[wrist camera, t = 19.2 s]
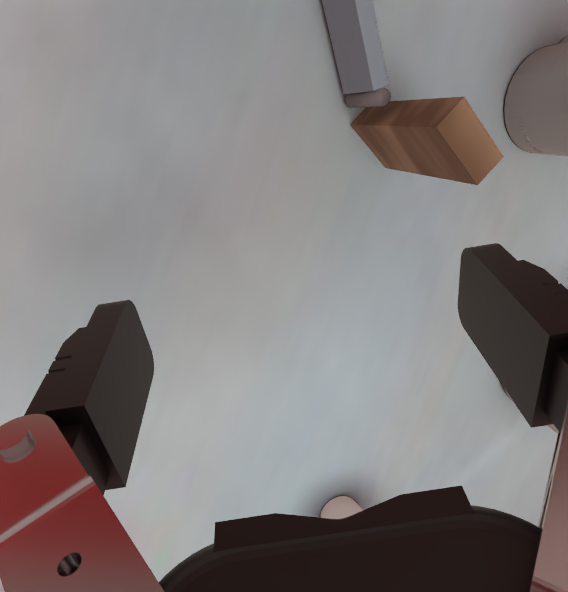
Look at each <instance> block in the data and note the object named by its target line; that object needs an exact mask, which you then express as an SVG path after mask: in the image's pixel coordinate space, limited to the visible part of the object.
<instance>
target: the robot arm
mask: <svg viewBox="0 0 568 592" xmlns="http://www.w3.org/2000/svg"><path fill="white" fill-rule="evenodd" d="M504 112H505V123H506V127H507V131H508V133H509V135H510V137H511V139H512V140H513V142H514V143H515V144H516V145H517V146H518V147H519V148H521V149H522V150H524V151H527V152H530V153H539V154H550V155H562V156H568V37H565V38H564V39H563V40H562V41H561V42H560V43H559V44H558V45H552V46H546V47H544V48H541V49H539V50H537V51H535V52H534V53H532V54H531V55H530V56H528V57H527V58H526V59H525V61H524V62H523V63H522V64H521V65H520V66H519V68H518V69H517V71H516V72H515V74H514V76H513V78H512V80H511V82H510V85H509V87H508V91H507V95H506V99H505V108H504ZM458 312H459V317H460V320H461V323H462V326H463V328H464V329H465V331H466V332H467V334H468V335H469V337H470V338H471V340H472V341H473V342H474V344H475V345H476V347H477V348H478V350H479V351H480V353H481V354H482V356H483V357H484V359H485V360H486V362H487V363H488V365H489V366H490V368H491V369H492V370H493V372H494V373H495V375H496V376H497V378H498V379H499V381H500V382H501V384H502V385H503V387H504V388H505V390H506V391H507V393H508V394H509V396H510V397H511V398H512V400H513V401H514V403H515V404H516V406H517V407H518V409H519V410H520V412H521V413H522V415H523V416H524V418H525V419H526V421H527V422H528V424H529V425H530V426H531V427H537V426H544V425H551V424H554V426H555V427H556V428H557V430H558V431H559V433H558V437H557V441H556V445H555V450H554V454H553V459H552V463H551V468H550V473H549V477H548V482H547V486H546V491H545V495H544V500H543V505H542V509H541V514H540V518H539V522H538V527H537V526H535V525H533V524H532V523H530V522H528V521H525V520H523V519H521V518H518V517H516V516H513V515H511V514H508V513H504V512H501V511H498V510H495V509H490V508H485V507H480V506H471V505H470V503H469V501H468V499H467V496H466V494H465V492H464V490H463V487H462V486H456V487H449V488H443V489H436V490H429V491H422V492H416V493H409V494H402V495H399V496H397V497H394V498H392V499H389V500H387V501H385V502H382V503H380V504H378V505H375V506H373V507H370V508H368V509H366V510H363V511H361V512H358V513H356V514H354V515H351V516H349V517H346V518H343V519H328V518H317V517H307V516H297V515H286V514H276V513H275V514H268V515H262V516H255V517H248V518H242V519H235V520H228V521H222V522H215V538H214V544H212V545H209V546H207V547H205V548H203V549H201V550H199V551H198V552H196V553H194V554H192V555H191V556H189V557H188V558H186V559H185V560H184V561H182V562H181V563H179V564H178V565H177V566H176V567H175V568H173V569H172V570H171V571H170V572H169V573H168V574H167V575H165V577H164V578H163V579H162V580H161V581H160V582H158V581H157V579H156V578H155V576H154V575H153V573H152V571H151V570H150V568H149V567H148V565H147V564H146V562H145V560H144V559H143V557H142V556H141V554H140V553H139V551H138V550H137V548H136V546H135V545H134V543H133V542H132V540H131V539H130V537H129V535H128V534H127V532H126V531H125V529H124V528H123V526H122V524H121V523H120V521H119V520H118V518H117V517H116V515H115V513H114V512H113V510H112V509H111V507H110V506H109V504H108V502H107V501H106V499H105V498H104V496H103V495H104V492H105V490H109V489H116V488H122V487H125V486H126V482H127V478H128V474H129V470H130V466H131V462H132V458H133V454H134V450H135V446H136V442H137V438H138V434H139V430H140V426H141V422H142V418H143V414H144V410H145V406H146V402H147V398H148V394H149V390H150V386H151V382H152V378H153V373H154V361H153V355H152V351H151V348H150V345H149V343H148V340H147V337H146V334H145V332H144V329H143V326H142V324H141V321H140V318H139V315H138V313H137V310H136V307H135V305H134V304H133V302H132V301H130V300H126V301H119V302H113V303H106V304H100V305H98V306H97V307H96V309H95V311H94V313H93V315H92V317H91V319H90V321H89V323H88V325H87V327H84V328H79V329H78V330H77V331H76V332H75V333H73V334H72V335H71V336H70V337H69V338H68V339H67V340H66V341H65V342H64V343H63V345H62V346H61V348H60V350H59V352H58V354H57V356H56V357H55V359H56V361H53V363H52V365H51V367H50V369H49V370H48V371H49V374H46V376H45V378H44V380H43V382H42V383H41V385H40V387H39V389H38V391H37V393H36V394H35V396H34V398H33V400H32V402H31V404H30V406H29V407H28V409H27V411H26V413H25V415H24V416H22V417H18V418H16V419H13V420H11V421H9V422H7V423H5V424H4V425H2V426H0V579H1V582H2V585H3V588H4V591H5V592H568V290H567V289H566V288H565V287H564V286H563V285H562V284H558V281H557V280H556V279H555V278H554V277H553V276H551V275H550V274H549V273H548V272H547V271H546V270H545V269H543V268H541V267H538V266H536V265H534V264H531V263H529V262H527V261H525V260H520V261H517V260H516V259H515V258H514V257H513V256H512V255H511V254H510V253H509V252H508V251H506V250H505V249H504V248H503V247H502V246H501V245H500V244H489V245H483V246H477V247H470V248H465V249H464V250H463V252H462V255H461V265H460V280H459V294H458Z"/></svg>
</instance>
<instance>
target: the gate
mask: <svg viewBox="0 0 568 592" xmlns="http://www.w3.org/2000/svg"><path fill="white" fill-rule="evenodd" d="M322 3H323V7H324V12H325V16H326V20H327V25H328V29H329V33H330V37H331V42H332V46H333V50H334V55H335V59H336V63H337V67H338V72H339V76H340V80H341V84H342V89H343V93H344V94H347V95H346V98H345V101H346V104H347V106H348V107H350V108H357V107H377V106H385V105H387V104H388V103H389V101H390V98H391V95H390V92H389V90H388V89H386V88H383V87H386V86H388V85H389V84H388V79H387V74H386V69H385V64H384V59H383V53H382V48H381V43H380V38H379V33H378V28H377V22H376V17H375V12H374V7H373V2H372V0H322Z"/></svg>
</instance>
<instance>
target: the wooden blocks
mask: <svg viewBox="0 0 568 592" xmlns="http://www.w3.org/2000/svg"><path fill="white" fill-rule="evenodd" d="M351 126H352V128H353V129H354V130H355V131H356V132H357V134H358V135H359V136H360V137H361V139H362V140H363V141H364V142H365V143H366V145H367V146H368V147H369V148H370V149H371V151H372V152H373V153H374V154H375V156H376V157H377V158H378V159H379V160H380V162H381V163H382V164H383V165H384V166H385V168H389V169H395V170H400V171H405V172H411V173H416V174H421V175H427V176H432V177H438V178H443V179H448V180H454V181H459V182H464V183H470V184H475V185H478V184H479V183H480V182H481V181H482V180H483V179H484V178H485V176H486V175H487V174H488V173H489V172H490V171H491V170H492V169H493V168H494V167H495V166H496V164H497V163H498V162H499V161H500V160H501V159H502V158H503V155H502V154H501V152H500V151H499V149H498V148H497V146H496V145H495V143H494V142H493V140H492V139H491V137H490V136H489V134H488V132H487V131H486V129H485V128H484V126H483V125H482V123H481V122H480V120H479V119H478V117H477V116H476V114H475V113H474V111H473V110H472V108H471V106H470V105H469V103H468V102H467V100H466V99H465V97H452V98H437V99H422V100H406V101H391V102H389V103H388V104H387V105H385V106H377V107H366V108H365V109H364V110H363V111H362V113H361V114H360V115H359V116H358V117H357V118H356V119H355V120H354V122H353V123H352V124H351Z"/></svg>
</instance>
